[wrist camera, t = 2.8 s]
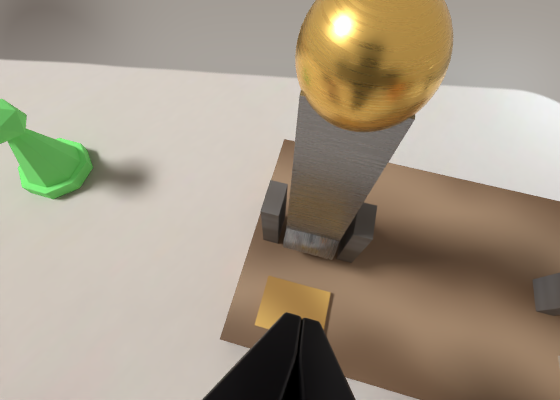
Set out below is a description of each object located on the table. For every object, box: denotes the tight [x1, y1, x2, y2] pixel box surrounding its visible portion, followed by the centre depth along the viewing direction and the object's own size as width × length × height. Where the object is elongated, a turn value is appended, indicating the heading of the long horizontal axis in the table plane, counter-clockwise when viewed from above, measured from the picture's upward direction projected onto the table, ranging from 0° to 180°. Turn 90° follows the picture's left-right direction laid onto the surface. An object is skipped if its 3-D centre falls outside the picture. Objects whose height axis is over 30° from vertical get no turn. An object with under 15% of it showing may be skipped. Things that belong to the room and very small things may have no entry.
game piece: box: [0, 99, 93, 199], centre depth 18 cm, size 4×4×6 cm
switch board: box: [220, 139, 560, 400], centre depth 15 cm, size 12×20×6 cm, turn 75°
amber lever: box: [283, 0, 453, 260], centre depth 10 cm, size 3×3×12 cm
